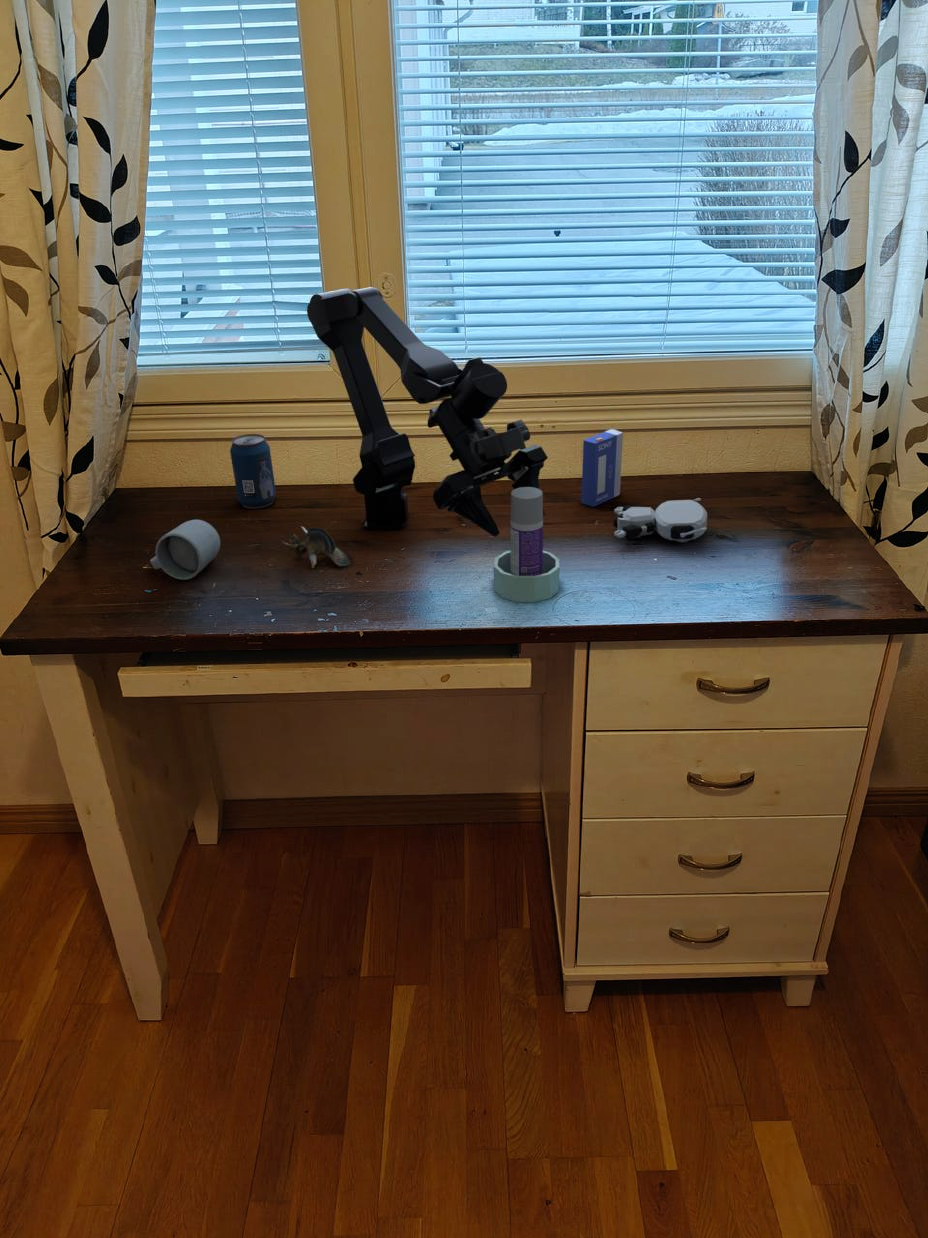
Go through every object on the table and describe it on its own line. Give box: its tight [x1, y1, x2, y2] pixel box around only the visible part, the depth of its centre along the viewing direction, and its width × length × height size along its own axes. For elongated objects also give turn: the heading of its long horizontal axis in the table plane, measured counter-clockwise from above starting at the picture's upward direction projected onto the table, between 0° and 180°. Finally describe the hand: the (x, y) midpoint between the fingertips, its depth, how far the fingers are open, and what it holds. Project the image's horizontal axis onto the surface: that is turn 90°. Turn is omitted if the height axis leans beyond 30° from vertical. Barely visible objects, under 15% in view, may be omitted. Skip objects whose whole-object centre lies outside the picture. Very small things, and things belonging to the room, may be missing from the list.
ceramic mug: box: [149, 519, 222, 581], centre depth 149 cm, size 11×8×8 cm
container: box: [510, 487, 544, 576], centre depth 138 cm, size 5×5×15 cm
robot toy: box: [612, 497, 708, 543], centre depth 155 cm, size 12×4×15 cm
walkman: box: [581, 428, 624, 508], centre depth 167 cm, size 8×3×12 cm, turn 134°
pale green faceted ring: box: [493, 550, 561, 603], centre depth 141 cm, size 10×10×4 cm
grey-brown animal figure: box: [281, 525, 351, 569], centre depth 150 cm, size 8×7×9 cm
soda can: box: [229, 433, 277, 509], centre depth 170 cm, size 7×7×12 cm
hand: (520, 525), depth 138 cm, fingers open, 9 cm apart
